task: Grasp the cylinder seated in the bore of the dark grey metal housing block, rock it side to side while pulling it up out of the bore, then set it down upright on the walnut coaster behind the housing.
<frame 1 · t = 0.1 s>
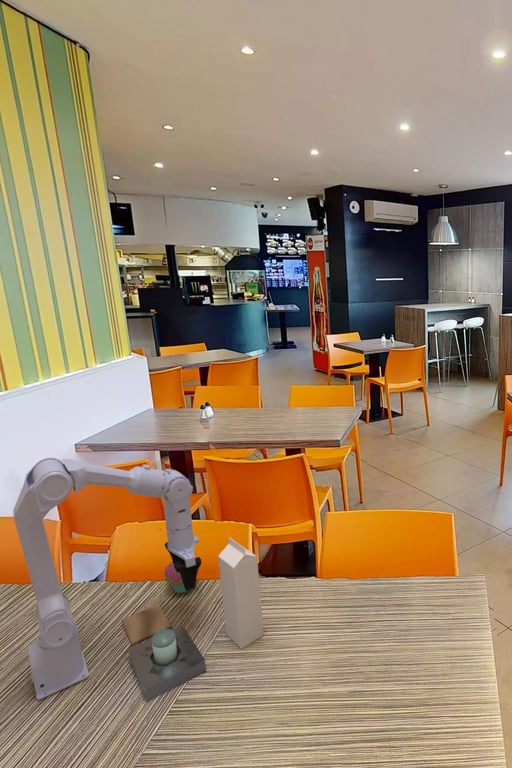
hand: (185, 579, 102), 10 cm above the table, fingers open, 7 cm apart
coaster: (146, 625, 103), on the table
cupcake: (182, 588, 115), on the table
housing: (167, 665, 91), on the table
milk: (244, 635, 97), on the table
cylinder: (165, 651, 90), in the housing
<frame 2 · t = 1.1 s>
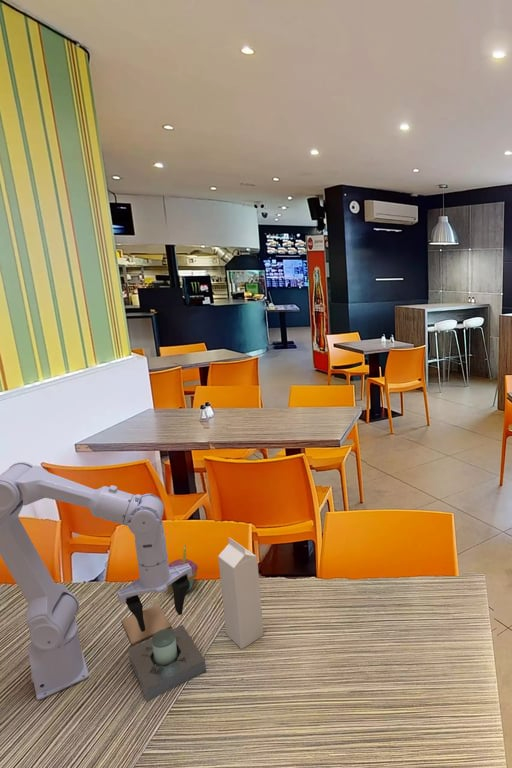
hand: (160, 620, 89), 10 cm above the table, fingers open, 7 cm apart
nothing on the table moved.
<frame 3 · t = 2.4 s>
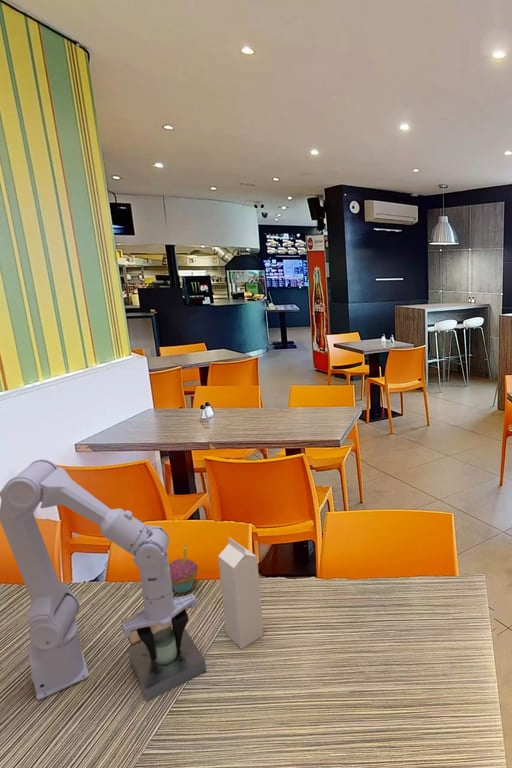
hand: (165, 650, 90), 3 cm above the table, fingers closed on cylinder, 5 cm apart
cylinder: (165, 651, 90), in the housing, touching gripper
everything else where it was.
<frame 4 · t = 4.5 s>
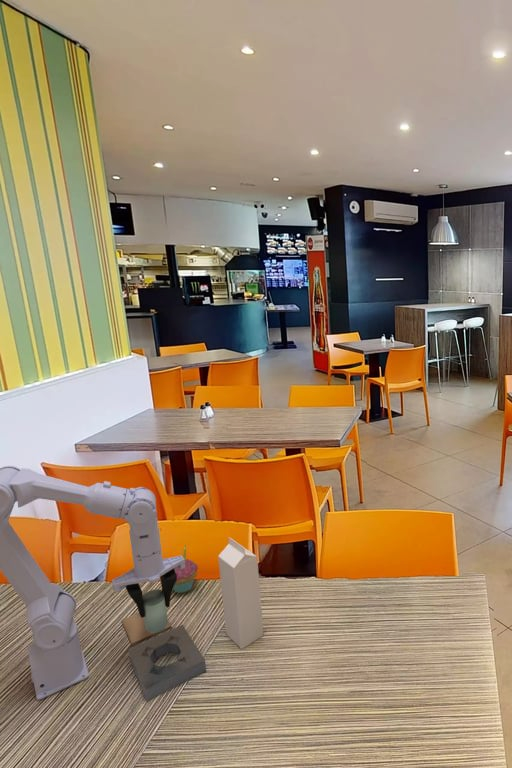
hand: (154, 609, 92), 10 cm above the table, fingers closed on cylinder, 5 cm apart
cylinder: (154, 610, 92), point 10 cm above the table, touching gripper
everything else where it was.
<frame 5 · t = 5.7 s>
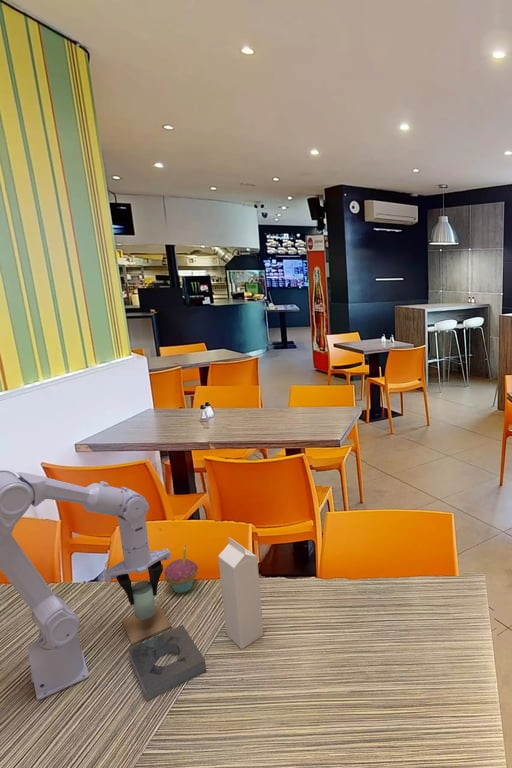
hand: (142, 597, 101), 7 cm above the table, fingers closed on cylinder, 5 cm apart
cylinder: (143, 599, 101), point 7 cm above the table, touching gripper
everything else where it was.
when the fingers open (5 cm above the table, at t = 6.6 s): cylinder stays where it is, resting on coaster.
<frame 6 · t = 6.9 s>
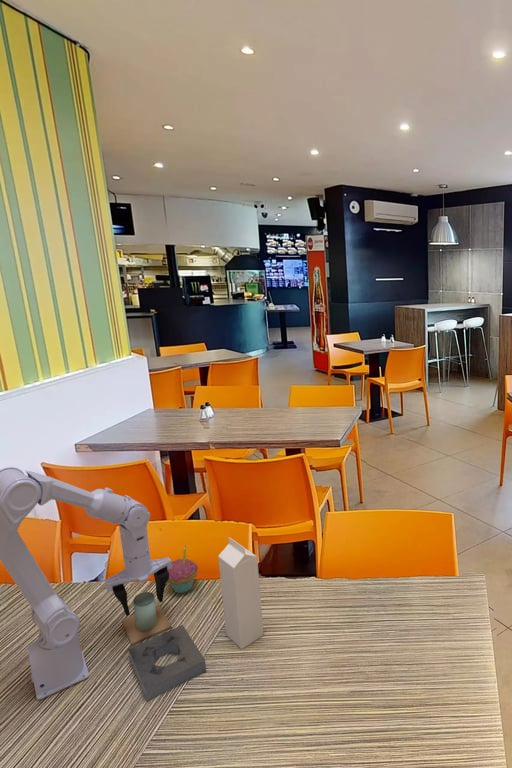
hand: (143, 606, 102), 5 cm above the table, fingers open, 7 cm apart
cylinder: (145, 611, 102), on the coaster, point 4 cm above the table
everything else where it was.
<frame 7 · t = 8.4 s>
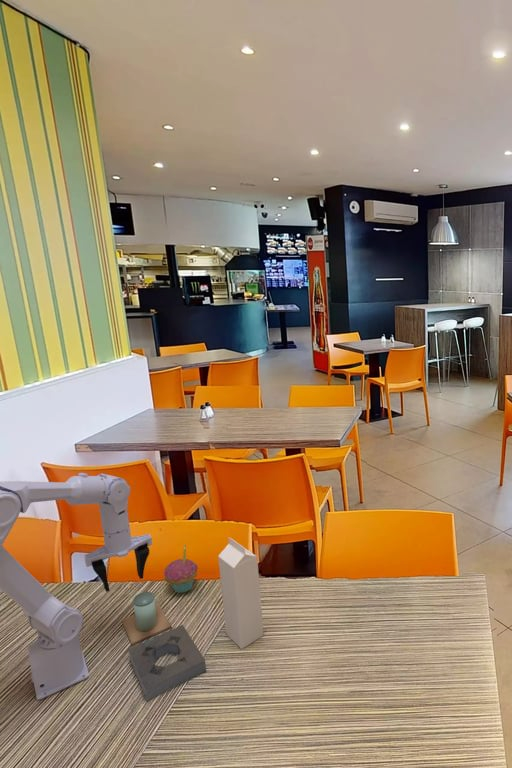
hand: (124, 582, 102), 10 cm above the table, fingers open, 7 cm apart
nothing on the table moved.
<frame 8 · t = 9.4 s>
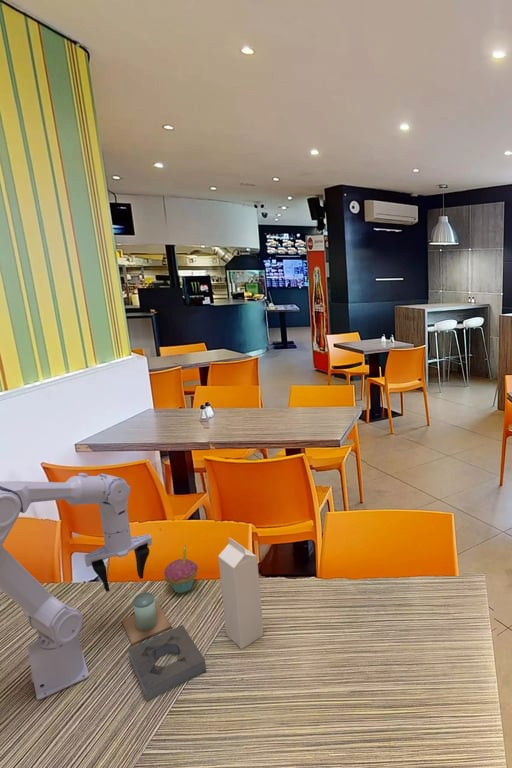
hand: (124, 582, 102), 10 cm above the table, fingers open, 7 cm apart
nothing on the table moved.
at the end: cylinder inside the target area on the coaster (0.6 cm from its centre), point 3.9 cm above the coaster's base; cylinder tilted 2°; cylinder touching coaster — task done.
